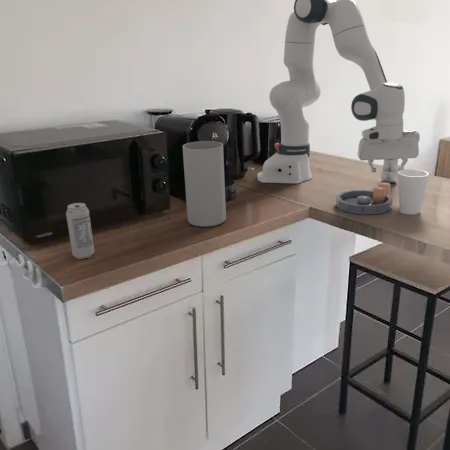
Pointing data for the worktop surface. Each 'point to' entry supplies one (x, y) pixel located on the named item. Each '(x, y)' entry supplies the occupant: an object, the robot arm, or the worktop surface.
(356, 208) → the tray
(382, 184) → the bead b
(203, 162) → the cylinder vase
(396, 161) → the plastic bottle
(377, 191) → the peach egg shape
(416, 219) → the worktop surface
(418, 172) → the foam cup
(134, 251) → the worktop surface
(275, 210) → the worktop surface
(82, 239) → the energy drink can
